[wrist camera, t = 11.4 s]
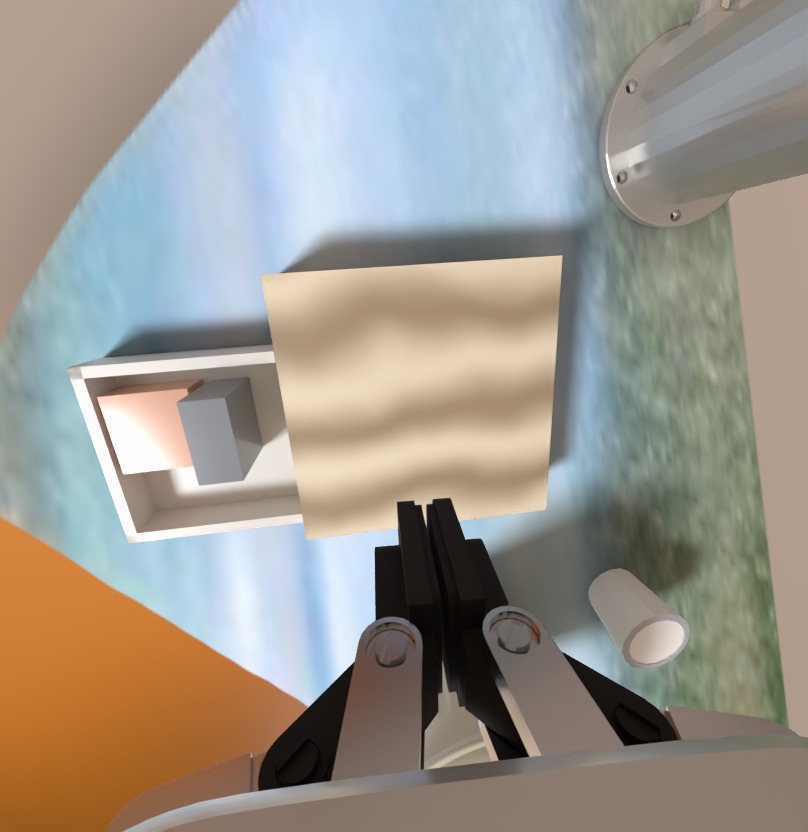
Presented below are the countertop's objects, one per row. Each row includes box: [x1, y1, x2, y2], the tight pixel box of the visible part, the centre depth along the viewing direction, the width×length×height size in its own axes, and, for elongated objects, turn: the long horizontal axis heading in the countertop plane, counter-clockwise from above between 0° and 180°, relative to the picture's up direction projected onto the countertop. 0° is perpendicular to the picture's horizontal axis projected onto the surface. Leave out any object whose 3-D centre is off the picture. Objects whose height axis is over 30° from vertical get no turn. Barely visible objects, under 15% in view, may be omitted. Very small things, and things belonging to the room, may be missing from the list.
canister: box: [425, 603, 511, 769], centre depth 33 cm, size 18×18×21 cm
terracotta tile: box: [97, 379, 204, 474], centre depth 29 cm, size 6×6×3 cm
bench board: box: [261, 255, 563, 540], centre depth 31 cm, size 20×20×5 cm
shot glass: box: [588, 568, 690, 669], centre depth 40 cm, size 7×7×7 cm
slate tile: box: [176, 377, 263, 486], centre depth 29 cm, size 6×6×3 cm
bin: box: [67, 344, 303, 543], centre depth 31 cm, size 14×14×4 cm
